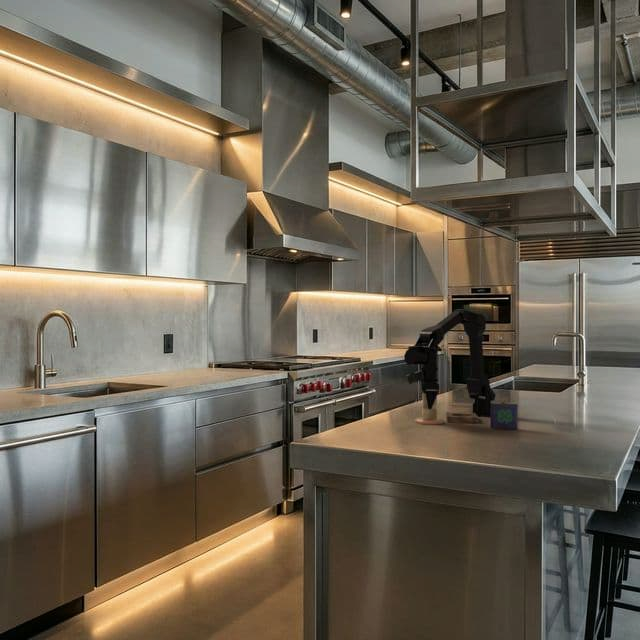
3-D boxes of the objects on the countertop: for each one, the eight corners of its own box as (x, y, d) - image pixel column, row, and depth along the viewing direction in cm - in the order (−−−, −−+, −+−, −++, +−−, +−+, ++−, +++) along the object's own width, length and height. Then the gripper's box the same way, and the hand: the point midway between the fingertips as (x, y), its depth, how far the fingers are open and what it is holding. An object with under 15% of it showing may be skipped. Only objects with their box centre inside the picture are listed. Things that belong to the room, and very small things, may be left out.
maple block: (436, 418, 227) (436, 394, 227) (436, 420, 223) (436, 395, 223) (422, 418, 228) (422, 393, 228) (422, 420, 224) (422, 395, 224)
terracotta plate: (442, 420, 230) (442, 417, 230) (444, 425, 220) (444, 422, 220) (415, 419, 231) (415, 417, 231) (415, 424, 221) (415, 421, 221)
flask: (516, 428, 214) (516, 397, 214) (519, 430, 211) (519, 398, 211) (489, 428, 215) (489, 397, 215) (491, 429, 212) (491, 398, 212)
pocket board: (475, 418, 235) (475, 413, 235) (478, 423, 224) (478, 417, 224) (445, 417, 237) (445, 412, 237) (447, 422, 226) (447, 416, 226)
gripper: (407, 362, 236) (407, 403, 236) (407, 365, 217) (406, 410, 217) (437, 362, 234) (436, 403, 234) (439, 366, 216) (439, 411, 216)
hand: (429, 407), depth 225 cm, fingers open, 9 cm apart
